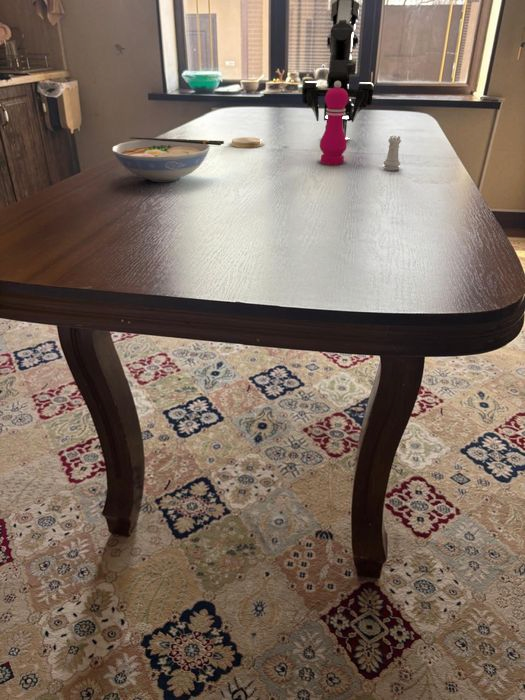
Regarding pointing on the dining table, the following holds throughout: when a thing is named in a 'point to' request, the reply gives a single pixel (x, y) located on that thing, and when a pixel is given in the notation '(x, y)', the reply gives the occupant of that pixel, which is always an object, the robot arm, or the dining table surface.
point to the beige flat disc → (246, 142)
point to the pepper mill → (334, 126)
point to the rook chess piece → (392, 155)
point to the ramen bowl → (163, 157)
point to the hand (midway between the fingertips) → (335, 120)
